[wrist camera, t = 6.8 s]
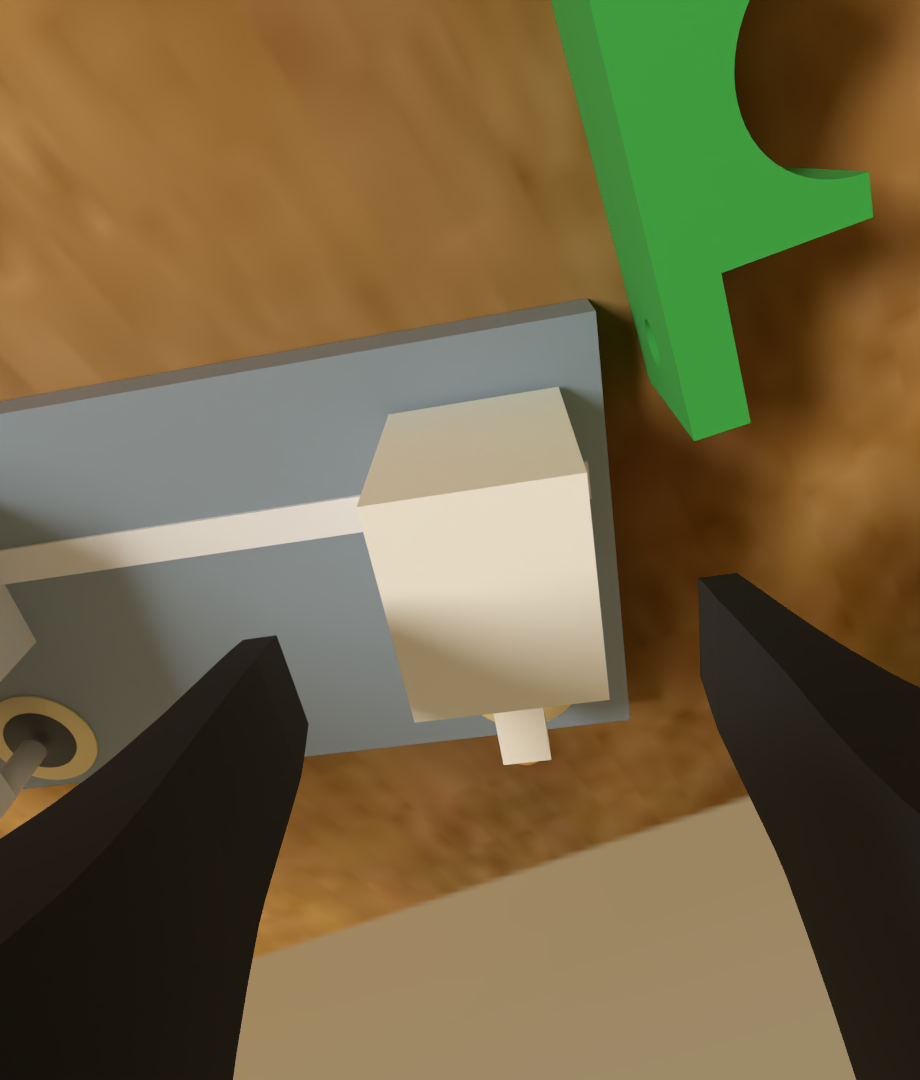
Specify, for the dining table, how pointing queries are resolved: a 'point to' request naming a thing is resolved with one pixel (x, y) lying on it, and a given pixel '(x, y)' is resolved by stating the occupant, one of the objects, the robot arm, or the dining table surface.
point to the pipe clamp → (688, 186)
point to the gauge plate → (247, 535)
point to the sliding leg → (488, 563)
